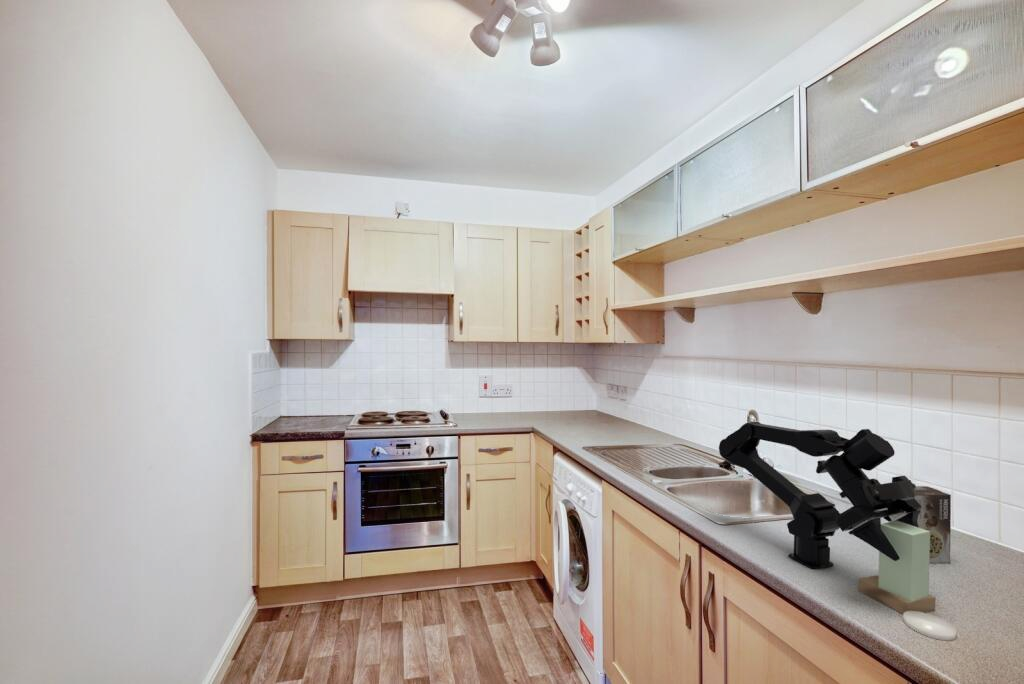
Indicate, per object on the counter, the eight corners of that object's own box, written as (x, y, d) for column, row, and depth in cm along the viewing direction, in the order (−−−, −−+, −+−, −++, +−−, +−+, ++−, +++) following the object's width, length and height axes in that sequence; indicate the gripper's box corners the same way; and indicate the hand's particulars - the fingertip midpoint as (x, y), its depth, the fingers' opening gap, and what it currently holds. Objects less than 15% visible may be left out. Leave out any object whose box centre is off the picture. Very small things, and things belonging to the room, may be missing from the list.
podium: (858, 590, 94) (858, 578, 94) (884, 585, 97) (885, 574, 97) (907, 616, 86) (907, 603, 86) (935, 610, 88) (935, 597, 88)
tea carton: (878, 587, 91) (879, 524, 91) (895, 582, 93) (897, 520, 93) (910, 602, 86) (912, 535, 86) (928, 596, 88) (930, 531, 88)
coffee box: (925, 551, 114) (927, 485, 114) (951, 563, 107) (953, 494, 107) (889, 550, 113) (891, 485, 113) (913, 563, 107) (914, 494, 107)
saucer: (893, 619, 85) (893, 613, 85) (920, 613, 87) (920, 608, 87) (938, 643, 78) (938, 637, 78) (966, 636, 80) (966, 630, 80)
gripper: (853, 465, 90) (919, 546, 80) (911, 458, 97) (979, 531, 86) (812, 493, 97) (868, 570, 87) (869, 484, 104) (927, 555, 94)
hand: (912, 556), depth 88 cm, fingers open, 9 cm apart
